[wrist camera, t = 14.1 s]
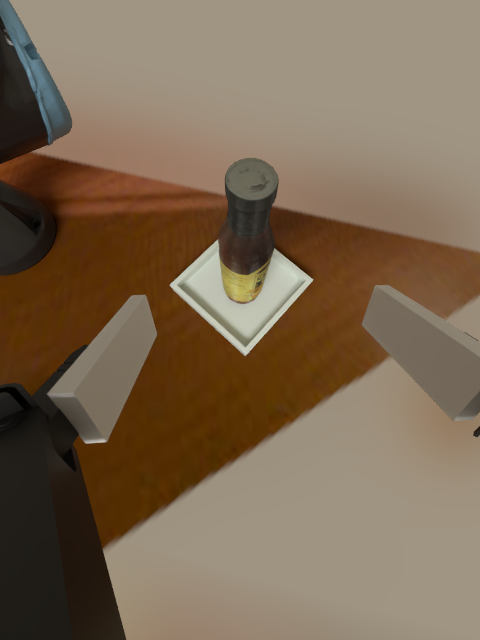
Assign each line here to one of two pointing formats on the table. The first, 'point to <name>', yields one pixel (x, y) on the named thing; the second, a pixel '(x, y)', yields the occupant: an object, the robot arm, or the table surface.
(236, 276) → the sauce bottle
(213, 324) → the tray
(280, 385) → the table surface
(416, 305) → the robot arm
